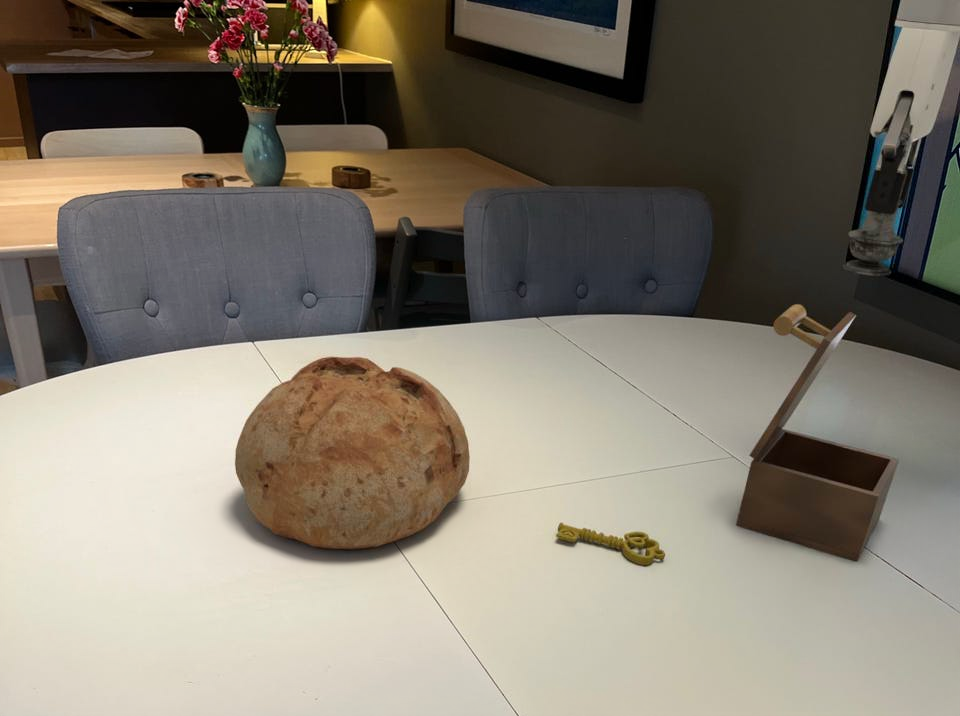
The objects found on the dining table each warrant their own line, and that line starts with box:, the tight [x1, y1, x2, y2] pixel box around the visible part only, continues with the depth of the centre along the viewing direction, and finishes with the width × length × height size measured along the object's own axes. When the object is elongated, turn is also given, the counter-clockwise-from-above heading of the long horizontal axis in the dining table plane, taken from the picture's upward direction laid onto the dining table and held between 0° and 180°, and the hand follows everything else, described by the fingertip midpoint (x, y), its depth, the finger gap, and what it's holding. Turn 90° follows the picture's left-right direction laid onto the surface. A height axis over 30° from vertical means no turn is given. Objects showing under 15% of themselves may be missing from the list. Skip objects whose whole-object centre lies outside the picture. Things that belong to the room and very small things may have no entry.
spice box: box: [735, 428, 900, 562], centre depth 111 cm, size 14×12×8 cm
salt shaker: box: [842, 168, 907, 277], centre depth 109 cm, size 6×6×12 cm
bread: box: [234, 356, 471, 550], centre depth 106 cm, size 26×23×15 cm
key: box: [555, 522, 666, 566], centre depth 105 cm, size 12×1×5 cm
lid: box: [749, 303, 857, 459], centre depth 107 cm, size 14×12×6 cm
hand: (884, 207), depth 109 cm, fingers closed on salt shaker, 3 cm apart
